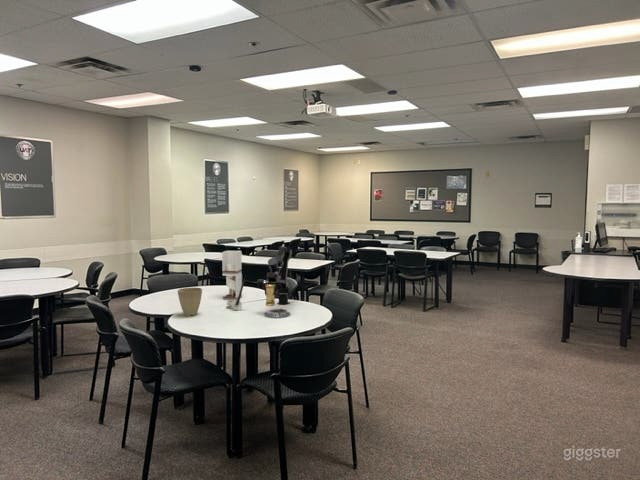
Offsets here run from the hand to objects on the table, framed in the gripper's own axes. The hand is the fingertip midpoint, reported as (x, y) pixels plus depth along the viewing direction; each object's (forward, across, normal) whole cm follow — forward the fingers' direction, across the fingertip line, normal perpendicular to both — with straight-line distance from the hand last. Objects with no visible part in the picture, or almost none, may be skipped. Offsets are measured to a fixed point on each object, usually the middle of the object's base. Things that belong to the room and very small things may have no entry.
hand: (269, 295), depth 281 cm
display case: (-23, -42, +42) cm, 64 cm away
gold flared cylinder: (+4, 0, +6) cm, 7 cm away
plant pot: (+14, -50, +5) cm, 52 cm away
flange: (+8, +4, +10) cm, 14 cm away
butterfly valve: (-2, -29, +21) cm, 36 cm away
